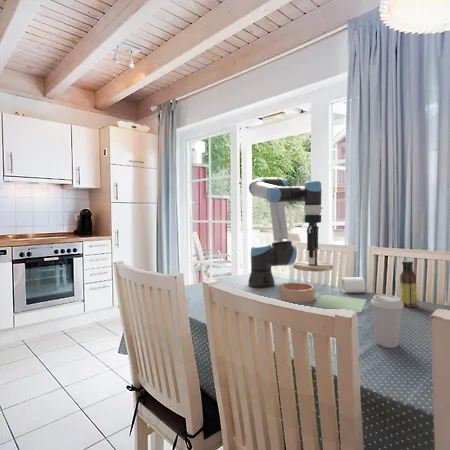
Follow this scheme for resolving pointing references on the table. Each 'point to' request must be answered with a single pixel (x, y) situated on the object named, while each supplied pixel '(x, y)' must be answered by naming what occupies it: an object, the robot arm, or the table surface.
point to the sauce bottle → (408, 285)
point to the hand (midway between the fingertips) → (312, 263)
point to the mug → (352, 284)
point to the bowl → (297, 292)
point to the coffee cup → (387, 319)
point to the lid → (313, 265)
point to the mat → (340, 303)
